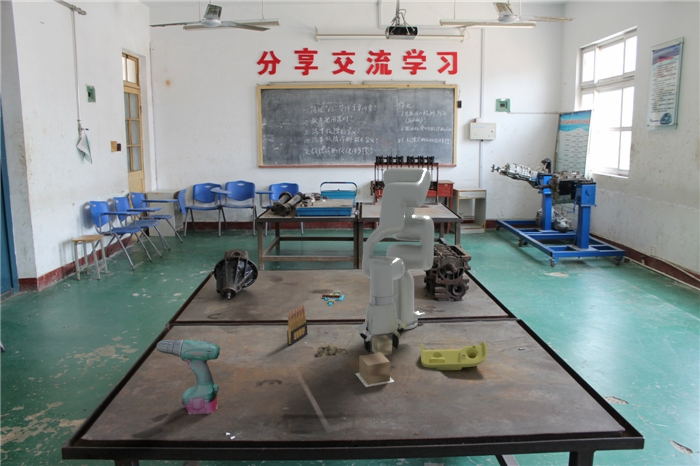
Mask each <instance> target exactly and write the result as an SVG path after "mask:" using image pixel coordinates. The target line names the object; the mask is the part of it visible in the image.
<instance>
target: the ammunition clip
mask: <svg viewBox="0 0 700 466" xmlns="http://www.w3.org/2000/svg"><path fill="white" fill-rule="evenodd" d="M287 315H288V318H287V319H288V320H287V331H286V334H287V335H286V336H287V345H290V346H293V345H295V344H296V343H297V342H299V341H301V340H303V338H305V337H306V335H307V336H308V322H307V318H306V317H307V315H306V307H305V304H303V303H302V305H300V306H299V307H296V308H294V309H292V310H291V311H289V312H288V314H287Z"/></svg>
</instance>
